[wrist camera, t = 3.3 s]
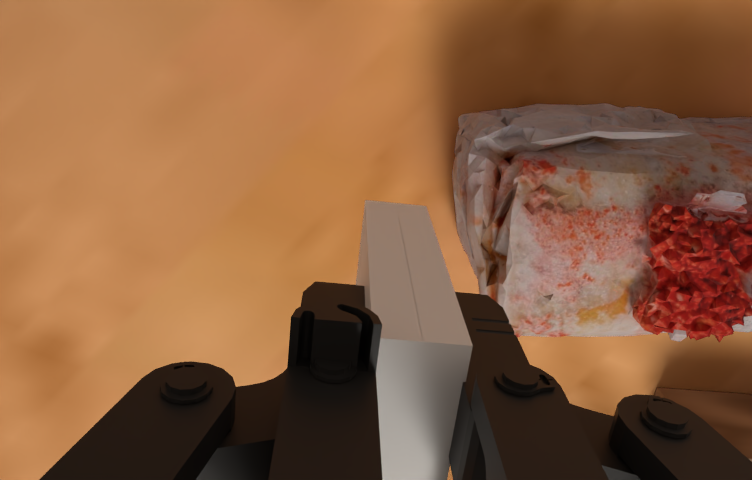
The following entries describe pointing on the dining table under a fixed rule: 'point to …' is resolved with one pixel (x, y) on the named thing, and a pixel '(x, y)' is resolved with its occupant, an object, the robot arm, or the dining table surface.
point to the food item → (608, 219)
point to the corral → (719, 413)
